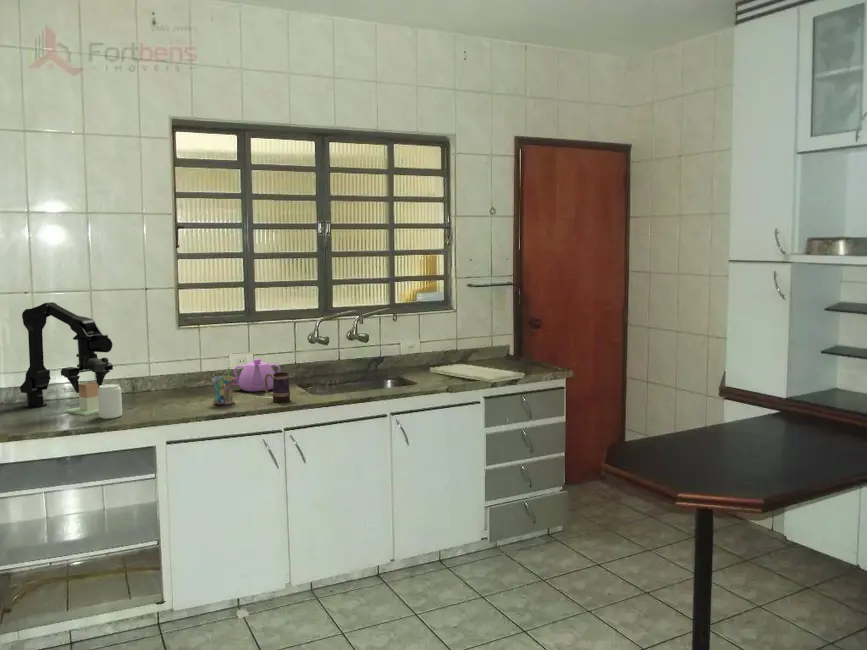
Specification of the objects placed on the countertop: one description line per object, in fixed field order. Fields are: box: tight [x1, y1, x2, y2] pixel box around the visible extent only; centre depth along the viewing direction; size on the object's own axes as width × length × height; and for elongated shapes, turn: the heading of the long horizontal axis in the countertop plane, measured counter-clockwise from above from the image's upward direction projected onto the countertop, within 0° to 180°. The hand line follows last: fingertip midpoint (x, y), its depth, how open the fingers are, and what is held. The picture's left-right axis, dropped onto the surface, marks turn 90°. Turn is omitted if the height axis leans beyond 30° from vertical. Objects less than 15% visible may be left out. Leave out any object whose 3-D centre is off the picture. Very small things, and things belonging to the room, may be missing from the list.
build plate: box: [65, 406, 99, 417], centre depth 287 cm, size 12×12×1 cm
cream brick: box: [78, 396, 99, 411], centre depth 287 cm, size 5×5×5 cm
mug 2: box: [265, 371, 291, 404], centre depth 302 cm, size 10×7×12 cm
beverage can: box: [98, 383, 123, 420], centre depth 276 cm, size 8×8×12 cm
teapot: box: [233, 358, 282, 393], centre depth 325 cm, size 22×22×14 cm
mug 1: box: [211, 375, 236, 406], centre depth 297 cm, size 12×9×11 cm
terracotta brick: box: [78, 381, 98, 398], centre depth 286 cm, size 5×5×5 cm
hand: (88, 390), depth 286 cm, fingers open, 9 cm apart
